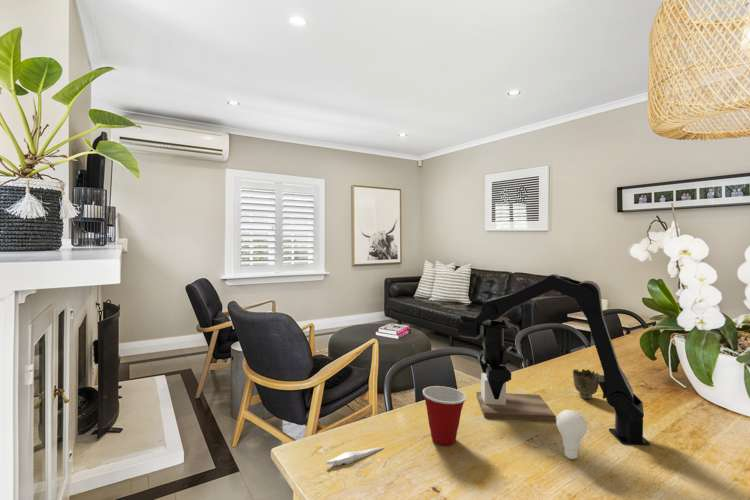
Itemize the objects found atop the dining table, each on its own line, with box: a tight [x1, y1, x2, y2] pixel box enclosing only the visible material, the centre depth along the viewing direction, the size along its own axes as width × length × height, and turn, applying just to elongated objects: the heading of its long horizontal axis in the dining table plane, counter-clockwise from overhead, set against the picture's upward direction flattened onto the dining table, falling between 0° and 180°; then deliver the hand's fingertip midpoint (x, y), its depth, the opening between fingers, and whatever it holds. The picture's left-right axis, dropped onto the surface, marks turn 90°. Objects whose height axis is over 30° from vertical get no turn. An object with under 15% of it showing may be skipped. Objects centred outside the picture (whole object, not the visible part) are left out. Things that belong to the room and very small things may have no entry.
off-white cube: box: [480, 372, 507, 405], centre depth 113 cm, size 6×6×7 cm
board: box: [476, 391, 557, 422], centre depth 111 cm, size 14×19×2 cm
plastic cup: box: [422, 385, 468, 447], centre depth 93 cm, size 11×11×12 cm
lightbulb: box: [555, 409, 588, 460], centre depth 85 cm, size 6×6×11 cm
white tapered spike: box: [326, 446, 385, 469], centre depth 86 cm, size 15×3×2 cm, turn 121°
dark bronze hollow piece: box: [572, 368, 601, 400], centre depth 118 cm, size 8×7×8 cm
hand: (493, 392), depth 113 cm, fingers open, 9 cm apart
